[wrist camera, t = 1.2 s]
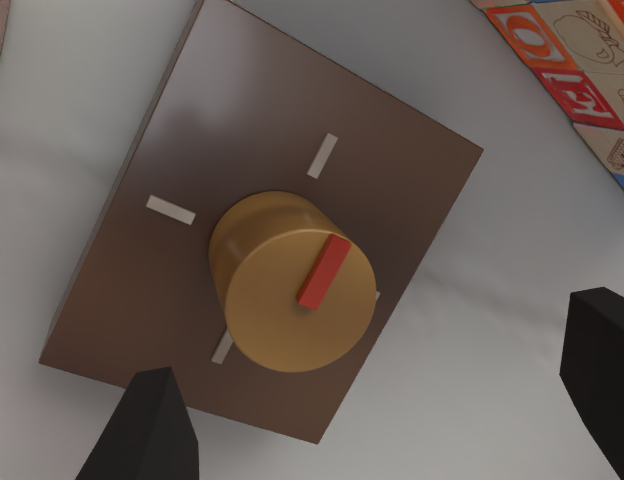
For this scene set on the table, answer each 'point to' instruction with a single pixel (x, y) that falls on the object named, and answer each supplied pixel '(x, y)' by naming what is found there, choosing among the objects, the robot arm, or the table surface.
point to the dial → (289, 282)
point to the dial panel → (232, 189)
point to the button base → (3, 18)
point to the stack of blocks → (574, 62)
